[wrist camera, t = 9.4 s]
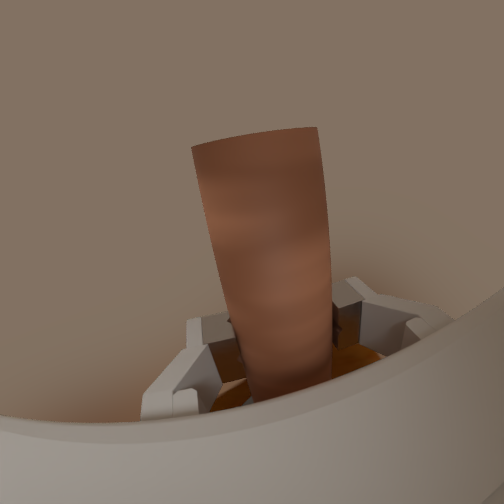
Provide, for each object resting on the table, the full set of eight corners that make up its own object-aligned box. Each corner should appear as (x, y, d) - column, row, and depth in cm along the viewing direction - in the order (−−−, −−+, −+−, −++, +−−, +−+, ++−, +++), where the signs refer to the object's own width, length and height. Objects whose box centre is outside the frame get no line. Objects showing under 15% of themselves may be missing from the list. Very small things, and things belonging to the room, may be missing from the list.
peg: (254, 447, 12) (166, 153, 6) (288, 408, 14) (246, 138, 9) (306, 473, 10) (268, 130, 4) (337, 428, 12) (336, 126, 7)
